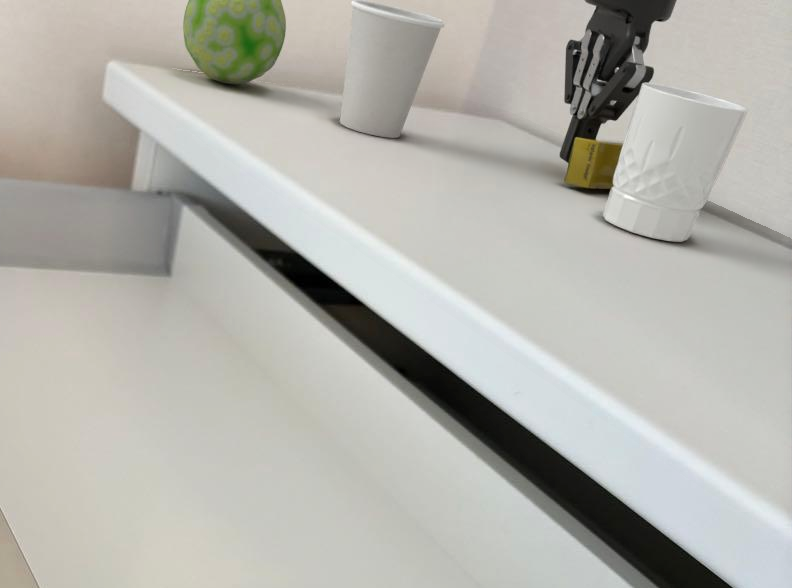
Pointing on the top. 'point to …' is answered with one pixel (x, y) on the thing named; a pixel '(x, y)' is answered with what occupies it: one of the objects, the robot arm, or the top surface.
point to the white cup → (670, 160)
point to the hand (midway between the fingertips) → (571, 161)
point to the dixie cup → (385, 66)
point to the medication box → (593, 162)
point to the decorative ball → (234, 37)
